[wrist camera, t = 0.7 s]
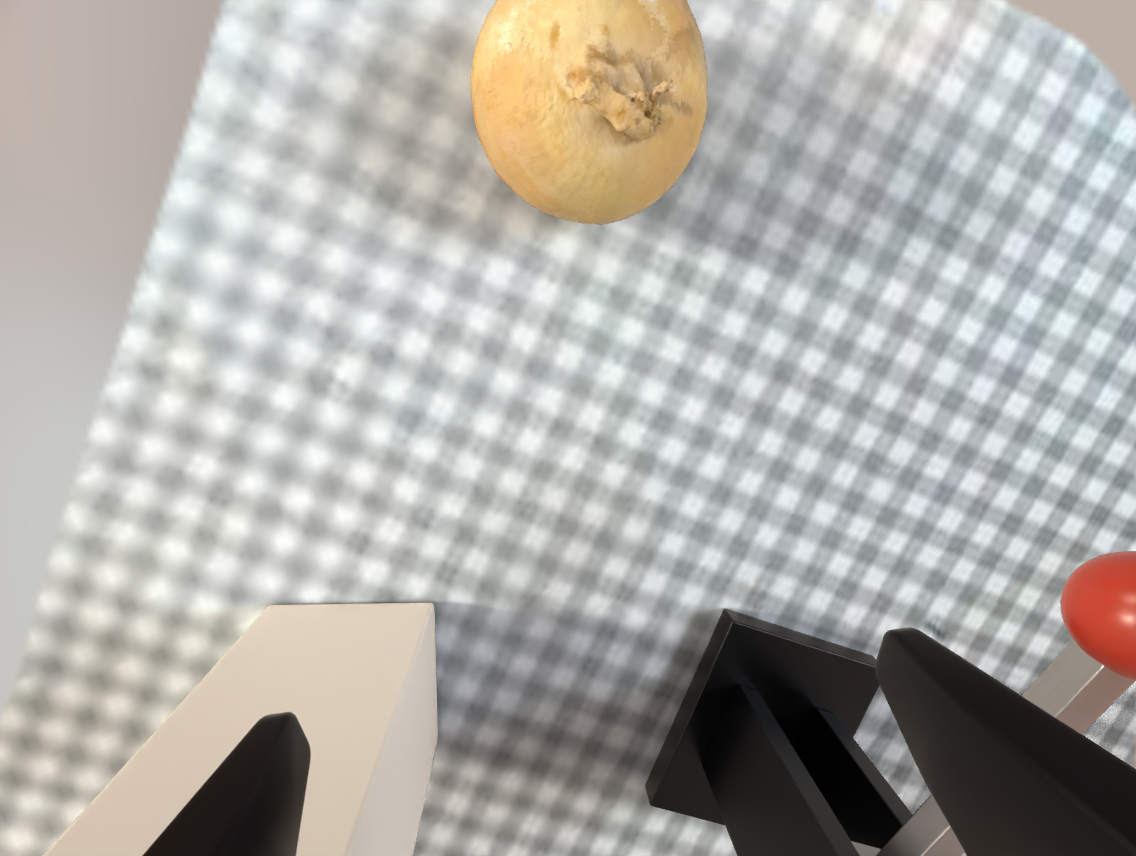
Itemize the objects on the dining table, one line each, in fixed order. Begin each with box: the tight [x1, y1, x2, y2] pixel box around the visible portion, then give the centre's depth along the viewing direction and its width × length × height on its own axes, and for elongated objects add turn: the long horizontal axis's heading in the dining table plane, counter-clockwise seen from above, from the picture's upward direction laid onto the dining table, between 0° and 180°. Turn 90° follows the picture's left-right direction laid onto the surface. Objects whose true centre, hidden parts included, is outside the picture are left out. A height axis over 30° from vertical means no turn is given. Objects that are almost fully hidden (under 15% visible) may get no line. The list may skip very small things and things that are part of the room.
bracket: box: [645, 609, 912, 856], centre depth 22 cm, size 10×8×11 cm
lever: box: [851, 551, 1136, 856], centre depth 17 cm, size 16×3×3 cm, turn 160°
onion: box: [471, 0, 707, 225], centre depth 19 cm, size 8×8×7 cm
